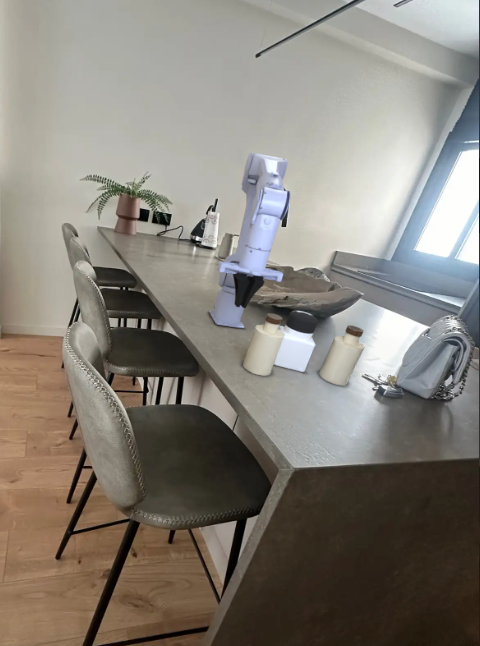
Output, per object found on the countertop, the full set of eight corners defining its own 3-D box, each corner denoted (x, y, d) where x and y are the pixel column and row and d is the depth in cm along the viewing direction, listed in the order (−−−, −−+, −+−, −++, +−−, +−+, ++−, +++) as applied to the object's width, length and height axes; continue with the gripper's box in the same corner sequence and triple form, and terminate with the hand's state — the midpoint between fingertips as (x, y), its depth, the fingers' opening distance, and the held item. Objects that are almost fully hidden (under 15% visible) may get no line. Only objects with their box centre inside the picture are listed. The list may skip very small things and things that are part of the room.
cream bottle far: (314, 369, 84) (335, 320, 79) (338, 372, 85) (360, 324, 80) (327, 383, 79) (350, 332, 74) (352, 387, 80) (377, 336, 75)
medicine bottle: (304, 373, 82) (325, 323, 77) (272, 365, 83) (290, 315, 77) (299, 359, 88) (318, 313, 83) (269, 351, 89) (286, 305, 84)
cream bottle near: (239, 359, 82) (255, 308, 77) (264, 363, 83) (282, 312, 78) (247, 373, 76) (266, 320, 71) (274, 377, 77) (294, 324, 72)
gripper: (230, 246, 76) (213, 307, 81) (296, 257, 78) (275, 316, 83) (222, 239, 82) (207, 297, 88) (283, 250, 84) (264, 306, 90)
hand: (239, 306), depth 86 cm, fingers closed
